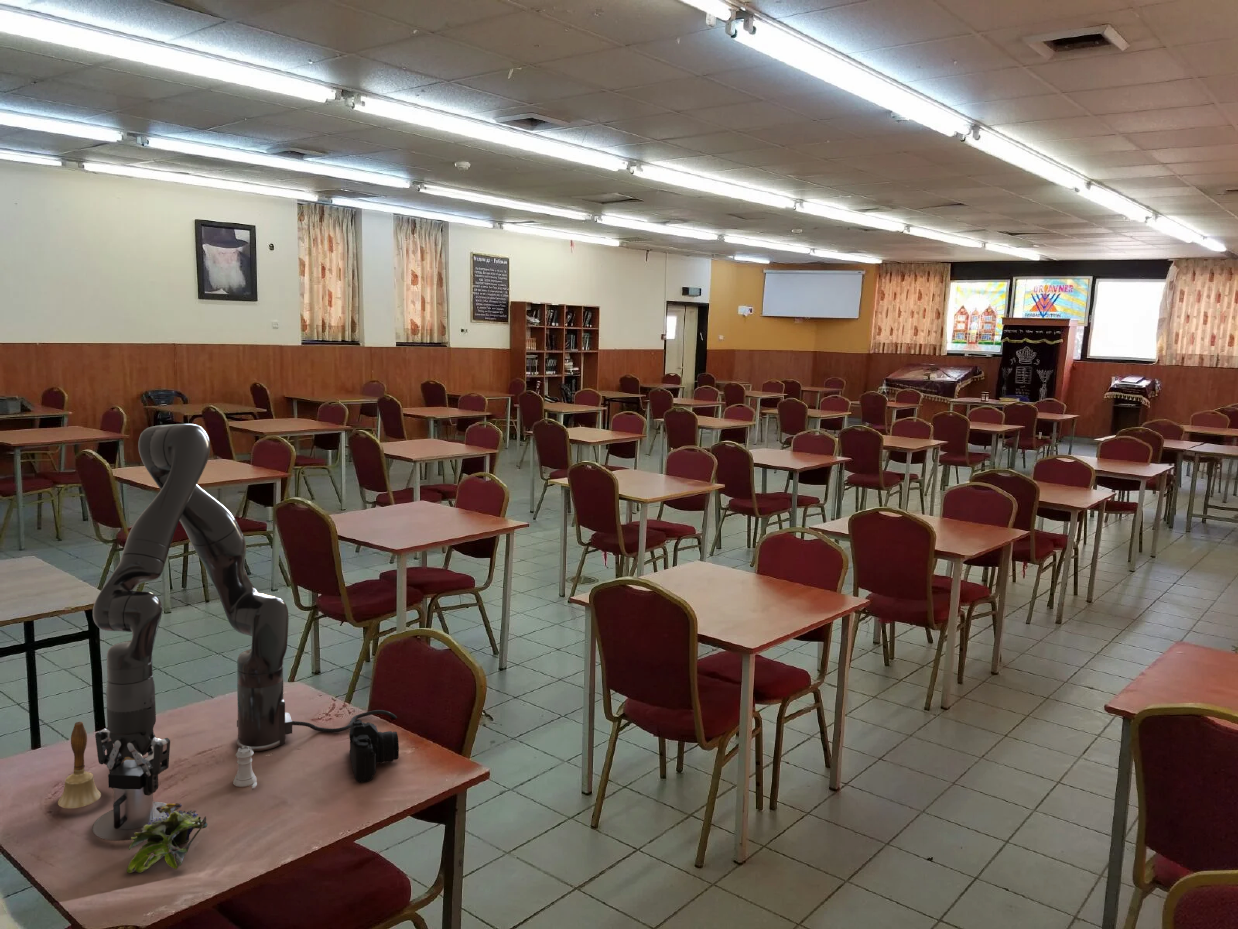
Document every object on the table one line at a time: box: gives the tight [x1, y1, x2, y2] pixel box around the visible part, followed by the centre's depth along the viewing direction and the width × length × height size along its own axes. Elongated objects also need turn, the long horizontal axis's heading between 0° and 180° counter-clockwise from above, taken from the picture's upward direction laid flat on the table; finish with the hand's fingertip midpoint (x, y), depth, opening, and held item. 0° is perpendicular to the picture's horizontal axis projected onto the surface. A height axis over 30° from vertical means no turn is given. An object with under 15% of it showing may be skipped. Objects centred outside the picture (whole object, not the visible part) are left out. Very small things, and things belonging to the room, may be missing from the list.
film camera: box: [348, 718, 400, 783], centre depth 185 cm, size 15×10×9 cm, turn 22°
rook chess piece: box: [232, 746, 258, 790], centre depth 173 cm, size 4×4×8 cm
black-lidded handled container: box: [107, 760, 154, 830], centre depth 156 cm, size 9×6×10 cm
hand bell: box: [57, 721, 102, 809], centre depth 163 cm, size 8×8×16 cm
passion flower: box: [126, 802, 208, 874], centre depth 148 cm, size 11×11×12 cm
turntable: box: [91, 801, 174, 842], centre depth 158 cm, size 13×13×1 cm
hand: (134, 789), depth 158 cm, fingers closed on black-lidded handled container, 6 cm apart
